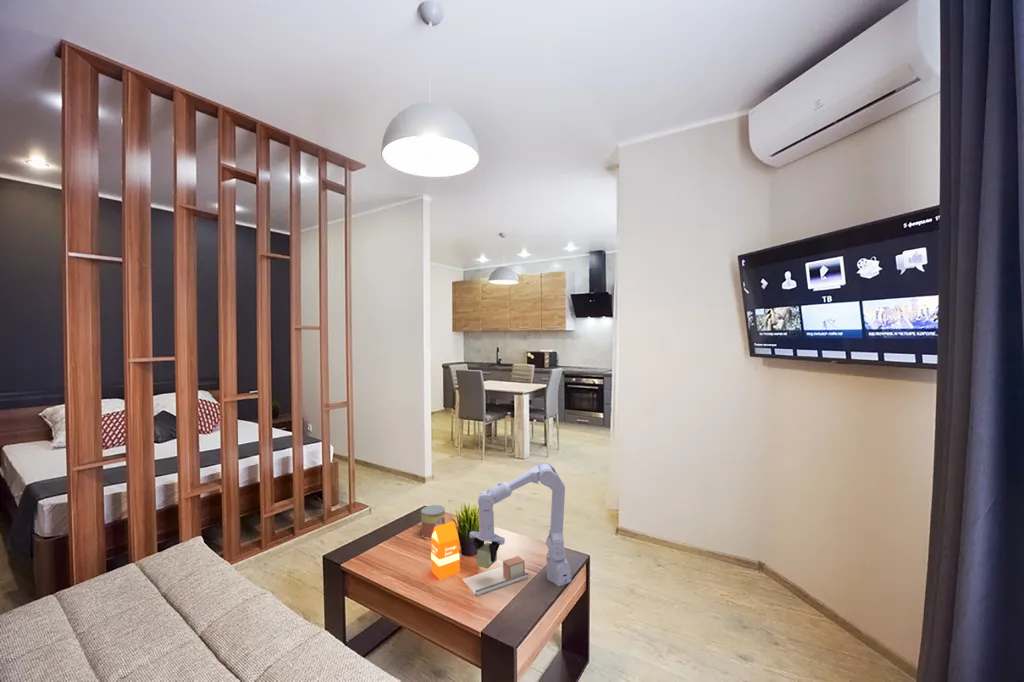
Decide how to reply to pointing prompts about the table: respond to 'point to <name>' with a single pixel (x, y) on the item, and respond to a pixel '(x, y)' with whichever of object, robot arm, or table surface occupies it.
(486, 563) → the tea box olive
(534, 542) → the table surface
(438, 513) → the canned food
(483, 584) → the shelf board
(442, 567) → the orange juice
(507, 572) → the tea box rust
